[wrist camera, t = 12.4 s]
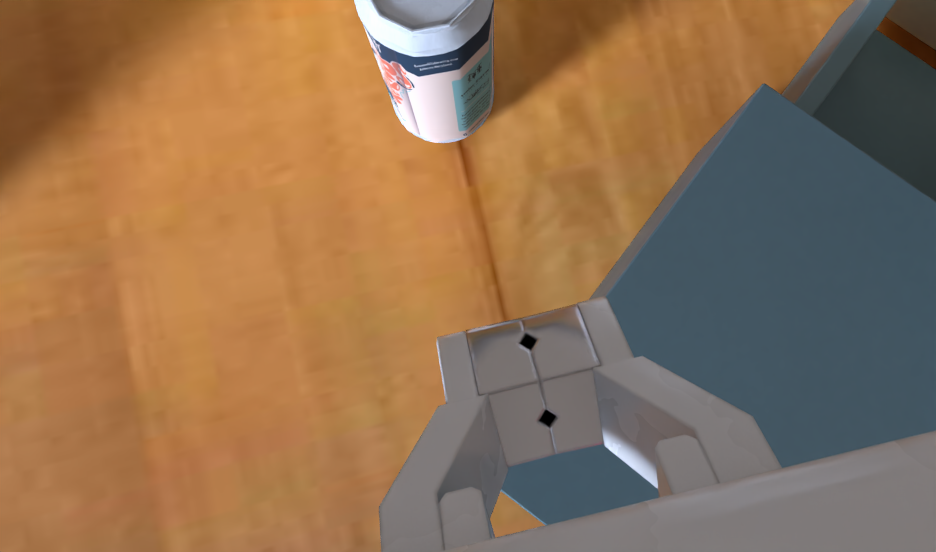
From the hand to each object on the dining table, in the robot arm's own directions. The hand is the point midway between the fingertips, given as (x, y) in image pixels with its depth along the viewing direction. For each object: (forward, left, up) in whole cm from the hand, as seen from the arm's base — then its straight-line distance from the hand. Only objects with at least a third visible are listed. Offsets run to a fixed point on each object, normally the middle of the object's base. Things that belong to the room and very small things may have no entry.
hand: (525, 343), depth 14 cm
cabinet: (+8, +5, -23) cm, 25 cm away
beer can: (-10, +8, -23) cm, 26 cm away
